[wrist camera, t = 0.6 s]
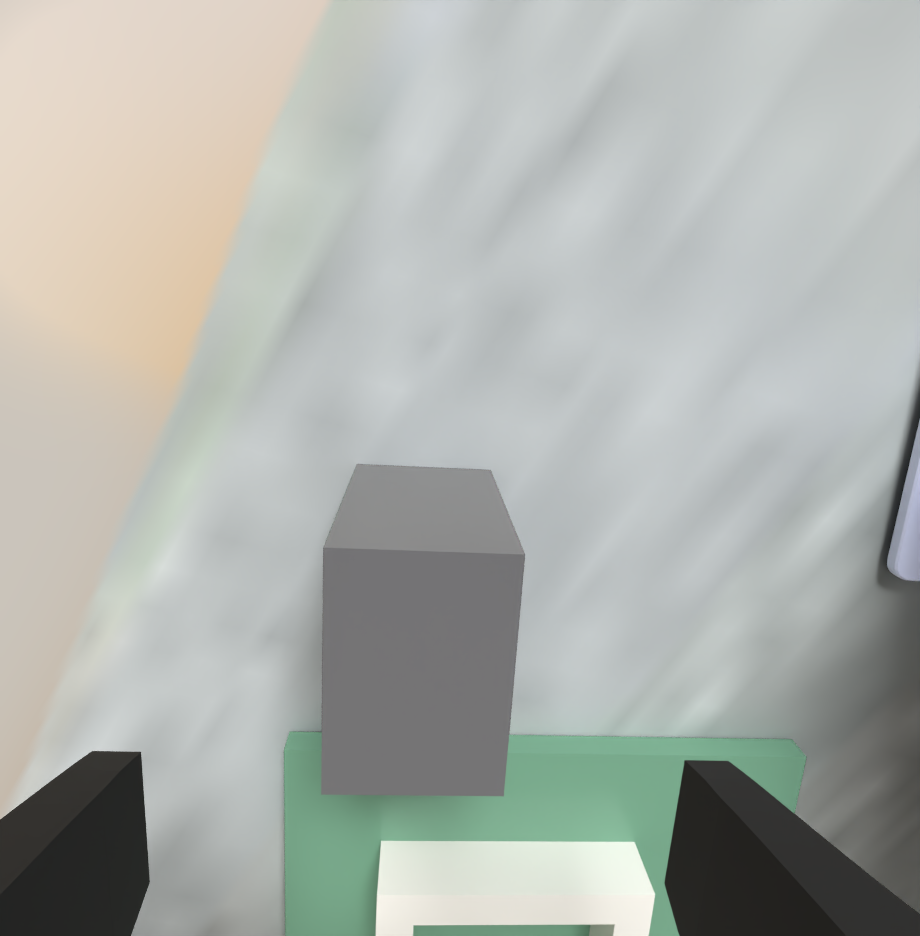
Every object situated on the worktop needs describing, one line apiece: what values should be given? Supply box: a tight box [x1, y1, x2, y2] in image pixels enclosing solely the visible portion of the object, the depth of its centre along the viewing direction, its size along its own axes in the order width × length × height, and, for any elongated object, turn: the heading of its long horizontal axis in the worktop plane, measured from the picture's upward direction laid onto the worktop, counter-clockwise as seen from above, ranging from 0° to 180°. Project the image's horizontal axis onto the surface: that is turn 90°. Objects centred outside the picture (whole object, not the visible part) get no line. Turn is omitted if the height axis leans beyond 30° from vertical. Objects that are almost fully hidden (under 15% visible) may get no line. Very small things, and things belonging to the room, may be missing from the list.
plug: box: [321, 464, 525, 796], centre depth 15 cm, size 4×6×6 cm, turn 177°
